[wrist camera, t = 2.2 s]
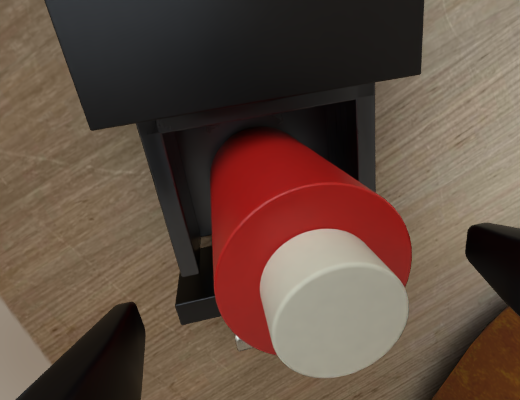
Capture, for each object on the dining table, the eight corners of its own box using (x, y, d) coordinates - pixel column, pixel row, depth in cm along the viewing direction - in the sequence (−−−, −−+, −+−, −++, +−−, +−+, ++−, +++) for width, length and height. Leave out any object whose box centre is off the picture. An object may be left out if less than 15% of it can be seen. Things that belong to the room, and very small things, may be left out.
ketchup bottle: (220, 231, 17) (240, 438, 7) (199, 136, 15) (187, 245, 5) (312, 212, 17) (449, 382, 8) (304, 118, 15) (472, 184, 6)
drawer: (351, 287, 21) (388, 341, 17) (202, 322, 20) (201, 388, 16) (342, 73, 16) (392, 71, 12) (140, 107, 15) (114, 118, 11)
